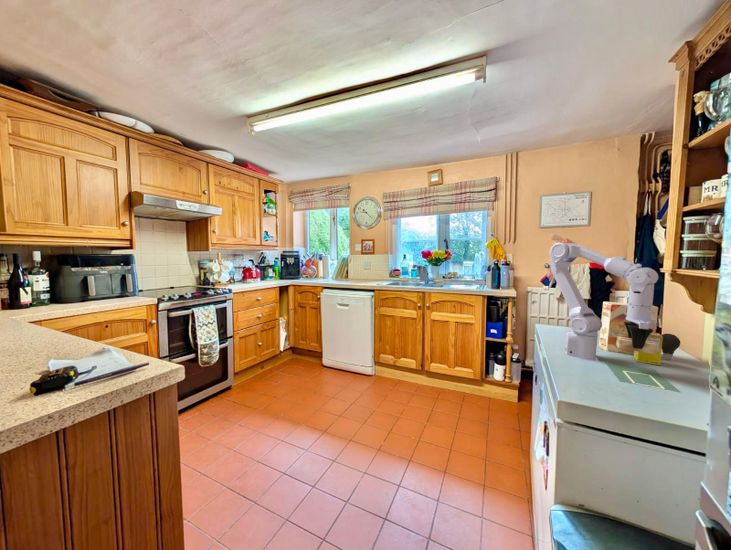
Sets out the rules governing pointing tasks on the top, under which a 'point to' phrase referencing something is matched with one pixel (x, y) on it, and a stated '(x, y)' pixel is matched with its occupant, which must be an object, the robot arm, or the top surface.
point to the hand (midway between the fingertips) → (635, 346)
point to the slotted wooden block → (627, 345)
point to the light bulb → (669, 345)
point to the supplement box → (649, 357)
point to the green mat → (640, 376)
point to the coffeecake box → (617, 325)
